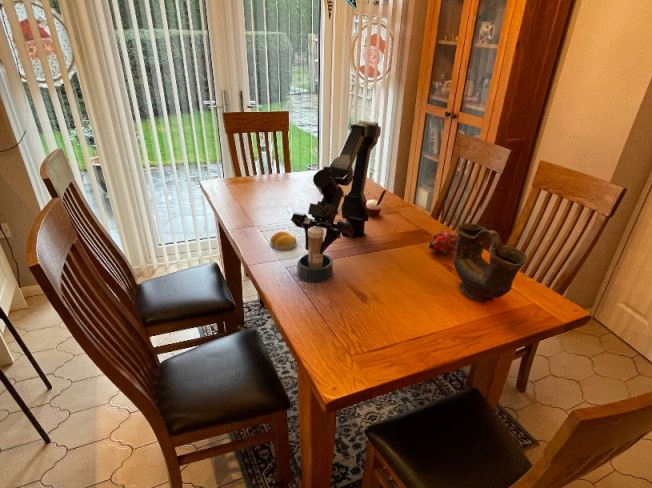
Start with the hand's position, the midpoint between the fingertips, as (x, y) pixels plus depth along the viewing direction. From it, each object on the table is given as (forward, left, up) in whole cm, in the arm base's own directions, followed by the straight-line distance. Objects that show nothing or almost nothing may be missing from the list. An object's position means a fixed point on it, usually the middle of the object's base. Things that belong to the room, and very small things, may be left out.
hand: (313, 251), depth 125 cm
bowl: (-1, -1, -8) cm, 8 cm away
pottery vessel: (-42, +25, -8) cm, 50 cm away
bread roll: (+2, -24, -8) cm, 25 cm away
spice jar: (-1, -1, -7) cm, 7 cm away
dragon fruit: (-47, 0, -8) cm, 48 cm away
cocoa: (-40, -38, -8) cm, 56 cm away
